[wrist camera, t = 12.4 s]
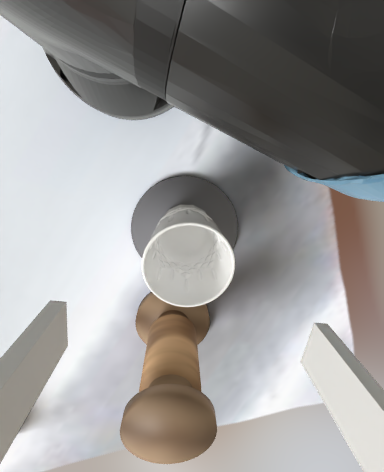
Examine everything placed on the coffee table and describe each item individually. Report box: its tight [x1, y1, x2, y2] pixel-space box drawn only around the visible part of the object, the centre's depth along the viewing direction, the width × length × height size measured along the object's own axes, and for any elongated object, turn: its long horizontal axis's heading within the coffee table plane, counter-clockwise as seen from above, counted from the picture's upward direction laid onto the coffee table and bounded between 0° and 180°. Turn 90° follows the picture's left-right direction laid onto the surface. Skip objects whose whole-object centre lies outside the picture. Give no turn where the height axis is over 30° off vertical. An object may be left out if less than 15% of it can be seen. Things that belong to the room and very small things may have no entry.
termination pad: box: [131, 176, 238, 258], centre depth 31 cm, size 13×13×1 cm
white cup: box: [142, 205, 235, 307], centre depth 26 cm, size 8×8×10 cm
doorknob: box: [120, 292, 217, 464], centre depth 28 cm, size 10×10×15 cm
